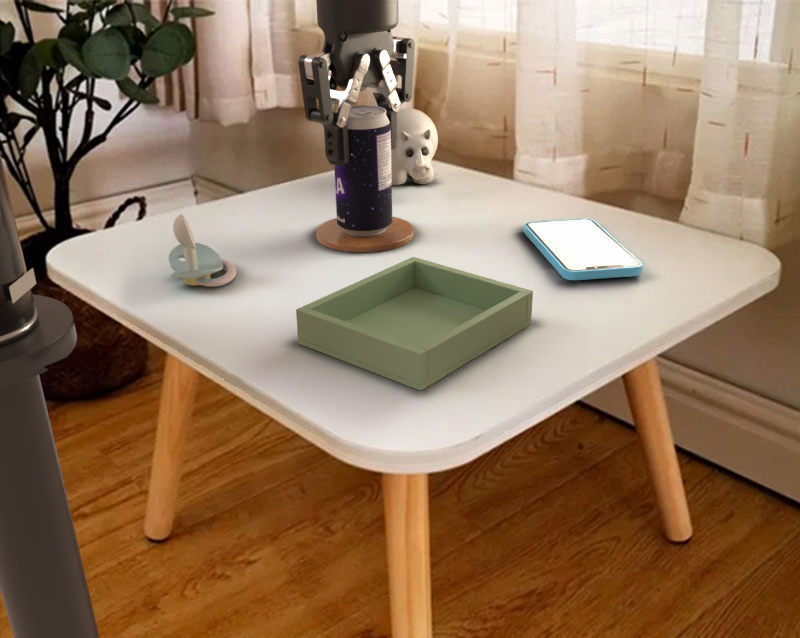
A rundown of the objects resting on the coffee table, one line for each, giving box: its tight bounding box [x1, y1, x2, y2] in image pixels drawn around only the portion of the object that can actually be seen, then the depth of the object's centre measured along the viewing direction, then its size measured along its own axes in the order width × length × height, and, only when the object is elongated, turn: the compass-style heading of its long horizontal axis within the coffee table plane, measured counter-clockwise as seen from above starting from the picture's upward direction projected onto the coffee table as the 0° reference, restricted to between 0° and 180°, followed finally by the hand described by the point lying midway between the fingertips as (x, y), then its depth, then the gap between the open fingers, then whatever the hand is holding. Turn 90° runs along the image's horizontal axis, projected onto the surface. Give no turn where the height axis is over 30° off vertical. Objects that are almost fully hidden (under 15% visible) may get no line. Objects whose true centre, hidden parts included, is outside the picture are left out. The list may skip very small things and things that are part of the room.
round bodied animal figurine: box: [391, 107, 439, 186], centre depth 110 cm, size 7×12×8 cm, turn 8°
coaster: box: [316, 216, 414, 253], centre depth 97 cm, size 10×10×1 cm
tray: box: [295, 256, 534, 392], centre depth 76 cm, size 15×13×3 cm
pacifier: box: [168, 213, 237, 288], centre depth 86 cm, size 7×6×6 cm
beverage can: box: [333, 104, 393, 237], centre depth 94 cm, size 6×6×12 cm
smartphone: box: [523, 217, 644, 281], centre depth 92 cm, size 8×1×15 cm
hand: (362, 156), depth 93 cm, fingers open, 6 cm apart
